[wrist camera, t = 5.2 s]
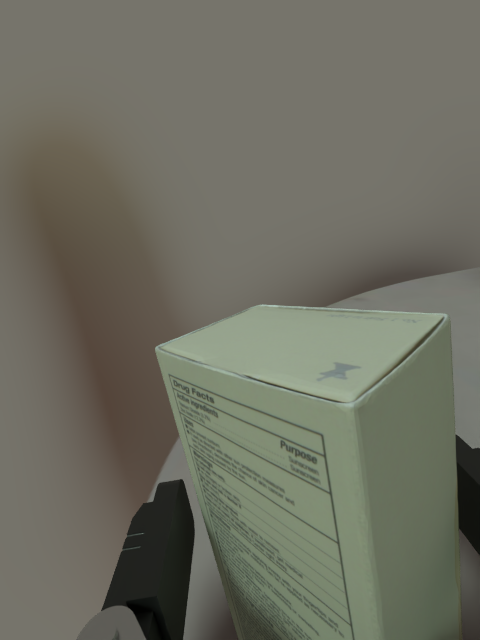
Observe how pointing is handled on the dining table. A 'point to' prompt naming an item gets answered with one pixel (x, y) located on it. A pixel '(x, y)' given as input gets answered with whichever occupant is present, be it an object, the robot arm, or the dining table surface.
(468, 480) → the robot arm
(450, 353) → the skincare box
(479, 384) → the dining table surface
